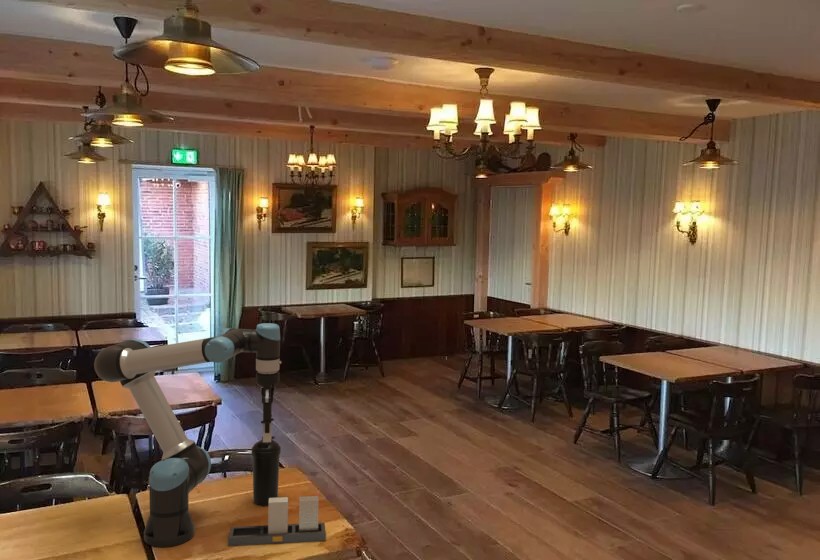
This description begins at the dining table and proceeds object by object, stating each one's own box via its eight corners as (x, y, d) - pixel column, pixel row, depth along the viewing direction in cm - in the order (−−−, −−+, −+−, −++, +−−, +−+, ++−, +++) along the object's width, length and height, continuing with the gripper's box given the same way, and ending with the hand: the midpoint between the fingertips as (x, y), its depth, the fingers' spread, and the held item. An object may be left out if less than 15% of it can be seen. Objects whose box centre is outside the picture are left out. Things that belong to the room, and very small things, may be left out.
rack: (228, 546, 207) (228, 507, 206) (230, 534, 214) (230, 496, 213) (325, 541, 212) (326, 503, 211) (324, 530, 220) (325, 493, 218)
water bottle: (283, 496, 245) (284, 435, 242) (275, 508, 234) (275, 444, 232) (256, 494, 246) (257, 433, 243) (247, 506, 235) (247, 442, 233)
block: (268, 539, 211) (268, 502, 210) (268, 533, 215) (268, 497, 213) (287, 538, 212) (287, 501, 211) (287, 532, 216) (288, 497, 214)
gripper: (279, 375, 212) (278, 448, 214) (280, 366, 224) (279, 434, 227) (254, 376, 210) (254, 448, 213) (257, 366, 223) (256, 435, 225)
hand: (267, 441), depth 220 cm, fingers closed
